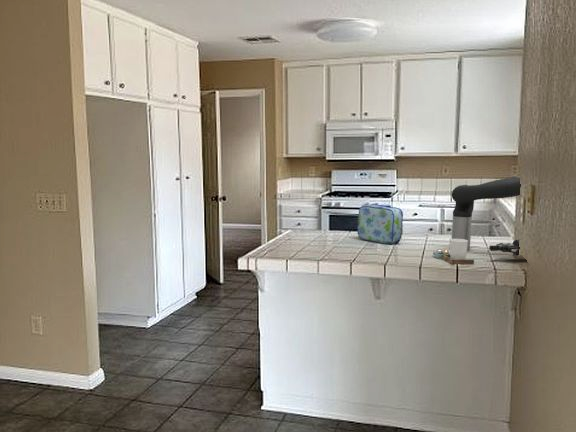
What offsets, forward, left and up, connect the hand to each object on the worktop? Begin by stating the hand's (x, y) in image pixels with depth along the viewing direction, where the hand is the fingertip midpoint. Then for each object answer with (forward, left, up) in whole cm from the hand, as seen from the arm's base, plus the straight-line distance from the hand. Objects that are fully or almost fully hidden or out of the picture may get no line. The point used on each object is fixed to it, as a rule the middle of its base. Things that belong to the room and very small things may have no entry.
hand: (490, 248), depth 240 cm
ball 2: (-8, -18, -4) cm, 20 cm away
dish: (-9, -19, -6) cm, 22 cm away
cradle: (0, -15, -6) cm, 16 cm away
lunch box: (-54, -36, -6) cm, 65 cm away
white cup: (0, -15, -6) cm, 17 cm away
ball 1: (-10, -20, -4) cm, 23 cm away
